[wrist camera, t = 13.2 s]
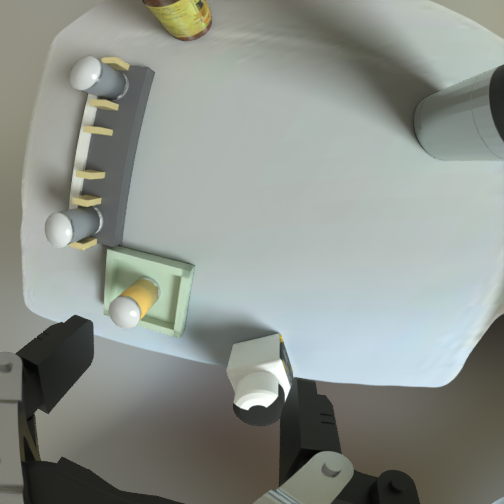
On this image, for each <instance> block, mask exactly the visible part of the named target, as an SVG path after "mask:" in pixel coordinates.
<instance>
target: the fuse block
mask: <svg viewBox="0 0 504 504" xmlns="http://www.w3.org/2000/svg"><path fill="white" fill-rule="evenodd" d="M101 62H103V63H105V64H107V65H109V66H110V67H112V68H114V69H116V70H118V71H119V72H121V73H123V74H125V75H126V76H127V77H128V79H129V88H128V91H127V93H126V94H125V95H124V96H123V97H122V98H121V99H119V100H117V101H109V100H106V99H103V98H100V97H98V96H95V95H92V94H88V98H87V102H86V107H85V111H84V115H83V120H82V125H81V129H80V134H79V140H78V145H77V151H76V157H75V163H74V170H73V177H72V184H71V192H70V201H69V210H70V209H74V208H78V207H83V206H85V207H89V206H93V205H95V206H97V207H98V208H99V209H100V210H101V212H102V214H103V218H104V223H103V227H102V229H101V230H100V231H99V232H98V233H96V234H94V235H91V236H89V237H86V238H84V239H81V240H79V241H76V242H74V243H71V244H69V246H70V247H74V248H77V249H80V250H85V249H87V248H89V247H91V246H94V245H96V244H97V243H100V244H103V245H107V246H111V247H116V246H118V245H120V244H122V239H123V230H124V222H125V215H126V208H127V201H128V194H129V188H130V182H131V176H132V170H133V165H134V159H135V154H136V149H137V144H138V139H139V135H140V130H141V126H142V121H143V117H144V113H145V108H146V104H147V100H148V96H149V92H150V89H151V85H152V81H153V78H154V74H155V72H154V71H153V70H151V69H150V68H149V67H134V66H130V65H129V64H127V63H126V62H124V61H123V60H121V59H120V58H118V57H106V58H102V59H101Z"/></svg>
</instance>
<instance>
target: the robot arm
mask: <svg viewBox="0 0 504 504" xmlns="http://www.w3.org/2000/svg"><path fill="white" fill-rule="evenodd" d="M414 129H415V133H416V136H417V138H418V140H419V143H420V144H421V146H422V147H423V148H424V150H425V151H426V152H427V153H428V154H430V155H431V156H433V157H434V158H436V159H439V160H444V161H504V65H501V66H499V67H497V68H494V69H492V70H489V71H487V72H484V73H482V74H479V75H477V76H475V77H472V78H470V79H467V80H465V81H463V82H460V83H458V84H455V85H453V86H451V87H448V88H446V89H444V90H441V91H439V92H437V93H435V94H432V95H430V96H428V97H426V98H424V99H423V100H422V101H421V102H420V103H419V104H418V106H417V108H416V110H415V114H414ZM93 357H94V337H93V322H92V321H91V320H88V319H85V318H83V317H80V316H77V315H74V316H72V317H71V318H70V319H68V320H67V321H66V322H64V323H63V322H60V323H57V324H54V325H52V326H50V327H49V328H47V329H46V330H45V331H43V333H41V334H40V335H38V336H37V338H34V339H33V340H32V341H31V342H29V343H28V344H27V345H26V346H24V347H23V348H22V349H21V350H20V351H18V352H17V353H16V354H14V353H11V352H0V504H184V503H180V502H176V501H173V500H169V499H165V498H162V497H159V496H153V495H145V494H138V493H130V492H125V491H121V490H118V489H116V488H115V487H113V486H112V485H110V484H109V483H107V482H106V481H104V480H103V479H102V478H100V477H99V476H98V475H96V474H95V473H93V472H92V471H91V470H89V469H86V468H84V467H82V466H80V465H78V464H76V463H74V462H72V461H70V460H68V459H66V458H64V457H61V458H60V460H59V461H58V463H53V462H47V461H41V458H40V453H39V445H38V437H37V428H36V417H35V411H36V410H37V409H40V410H42V411H43V412H45V413H47V414H49V413H50V411H51V410H52V409H53V408H54V407H55V405H56V404H57V403H58V402H59V401H60V399H61V398H62V397H63V396H64V395H65V394H66V393H67V391H68V390H69V389H70V388H71V387H72V386H73V385H74V383H75V382H76V381H77V380H78V379H79V378H80V377H81V376H82V374H83V373H84V372H85V371H86V370H87V369H88V367H89V366H90V365H91V363H92V360H93ZM279 454H280V455H279V488H278V489H277V490H274V489H272V490H270V491H269V492H267V493H266V494H264V495H263V496H262V497H261V498H259V499H258V500H257V501H255V502H254V503H253V504H420V502H419V498H418V494H417V490H416V486H415V483H414V481H413V480H412V479H411V477H410V476H408V475H407V474H406V473H404V472H401V471H398V470H388V471H385V472H383V473H382V474H381V475H380V476H379V477H374V476H370V475H367V474H363V473H360V472H357V471H355V470H354V469H353V465H352V464H351V462H350V461H349V460H348V459H347V458H346V457H345V456H343V455H342V453H341V447H340V442H339V437H338V431H337V427H336V421H335V417H334V410H333V405H332V404H331V402H330V401H329V399H328V398H327V397H326V395H319V394H317V389H316V383H315V381H314V380H308V379H302V378H297V377H295V378H294V380H293V382H292V385H291V388H290V390H289V393H288V395H287V398H286V401H285V403H284V406H283V409H282V412H281V417H280V453H279Z"/></svg>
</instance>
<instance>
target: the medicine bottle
mask: <svg viewBox="0 0 504 504" xmlns="http://www.w3.org/2000/svg"><path fill="white" fill-rule="evenodd" d="M226 373H227V375H228V377H229V380H230V382H231V384H232V386H233V389H234V391H235V399H234V404H233V409H234V412H235V414H236V416H237V417H238V418H239V419H240V420H242V421H243V422H245V423H247V424H250V425H254V426H266V425H270V424H272V423H275V422H276V421H278V420H279V419H280V417H281V412H282V409H283V406H284V403H285V401H286V398H287V395H288V393H289V390H290V388H291V385H292V382H293V370H292V367H291V364H290V361H289V358H288V355H287V352H286V348H285V345H284V342H283V339H282V336H281V334H279V333H278V334H274V335H270V336H266V337H262V338H257V339H253V340H249V341H244V342H240V343H235V344H233V346H232V350H231V354H230V358H229V362H228V366H227V370H226Z"/></svg>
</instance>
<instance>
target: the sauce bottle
mask: <svg viewBox="0 0 504 504" xmlns="http://www.w3.org/2000/svg"><path fill="white" fill-rule="evenodd" d="M142 1H143V3H144V4H145V5H146V6H147V7H148V9H149V10H150V11H151V12H152V13H153V14H154V16H155V17H156V18H157V19H158V20H159V22H160V23H161V24H162V25H163V26H164V27H165V29H166V30H167V31H168V32H169V33H170V34H172V35H173V36H174V37H175V38H177V39H180V40H183V41H191V40H195V39H197V38H200V37H201V36H203V35H204V34H206V33H207V31H208V30H209V29H210V27H211V23H212V16H211V10H210V8H209V6H208V4H207V1H206V0H142Z"/></svg>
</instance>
